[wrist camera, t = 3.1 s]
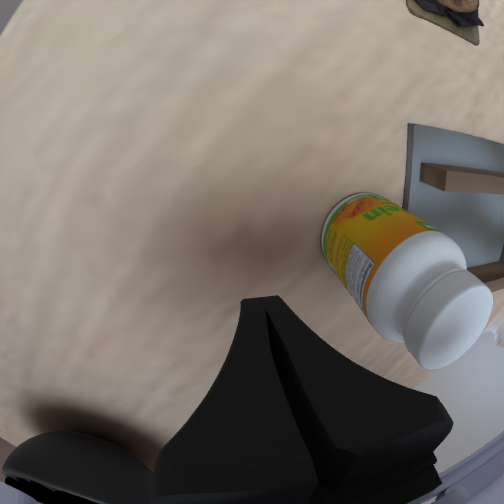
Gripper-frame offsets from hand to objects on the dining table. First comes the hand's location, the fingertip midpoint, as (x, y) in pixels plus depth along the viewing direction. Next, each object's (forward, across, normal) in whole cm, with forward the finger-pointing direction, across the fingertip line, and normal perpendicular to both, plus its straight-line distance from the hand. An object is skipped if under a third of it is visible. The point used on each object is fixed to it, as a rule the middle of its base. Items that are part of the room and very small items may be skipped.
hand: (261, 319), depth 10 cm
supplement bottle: (+7, -7, 0) cm, 10 cm away
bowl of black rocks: (+7, +19, +24) cm, 31 cm away
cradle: (+7, -17, 0) cm, 19 cm away
